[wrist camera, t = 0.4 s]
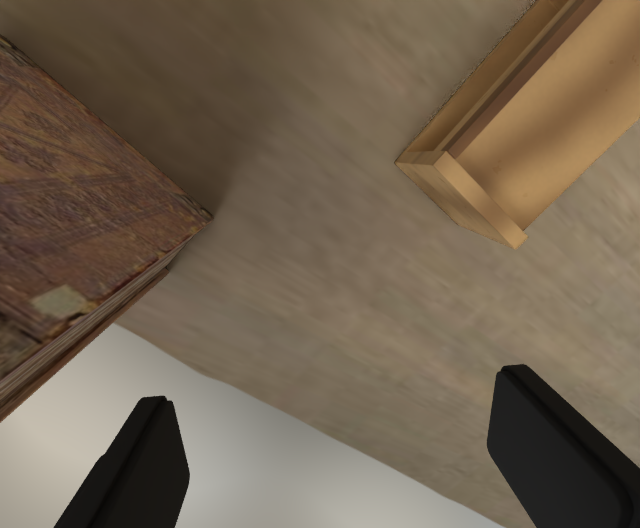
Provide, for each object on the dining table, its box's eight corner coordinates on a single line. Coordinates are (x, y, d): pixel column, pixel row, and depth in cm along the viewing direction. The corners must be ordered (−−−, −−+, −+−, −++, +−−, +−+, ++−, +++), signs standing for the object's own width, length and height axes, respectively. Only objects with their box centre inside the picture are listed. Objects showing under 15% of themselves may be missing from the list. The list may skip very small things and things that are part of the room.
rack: (393, 162, 37) (434, 165, 26) (548, -14, 33) (673, -98, 22) (457, 224, 40) (518, 250, 29) (607, 70, 35) (745, 32, 25)
